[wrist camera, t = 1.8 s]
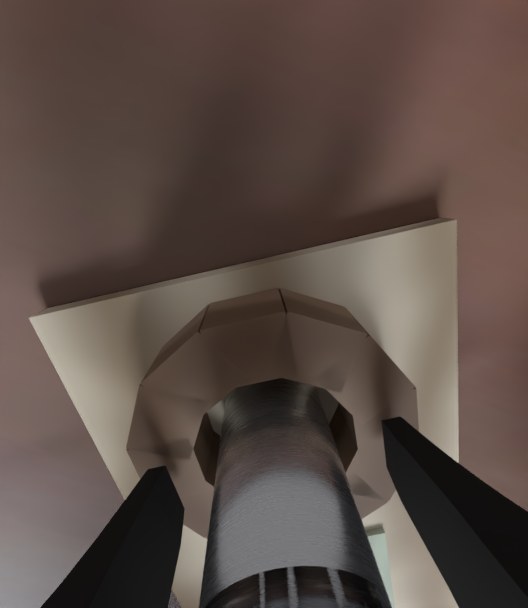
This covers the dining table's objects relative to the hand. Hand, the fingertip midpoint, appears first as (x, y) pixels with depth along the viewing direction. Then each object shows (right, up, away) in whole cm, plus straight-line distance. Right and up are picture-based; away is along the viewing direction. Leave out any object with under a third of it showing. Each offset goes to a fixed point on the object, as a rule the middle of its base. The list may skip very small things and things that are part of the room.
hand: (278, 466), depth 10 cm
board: (+1, -4, +6) cm, 7 cm away
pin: (0, +1, +3) cm, 3 cm away
